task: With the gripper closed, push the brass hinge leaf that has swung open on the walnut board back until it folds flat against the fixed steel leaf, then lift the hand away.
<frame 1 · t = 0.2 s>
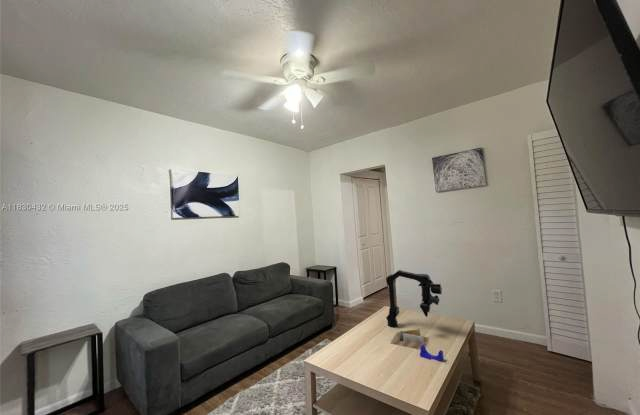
hand: (427, 314, 183), 14 cm above the table, fingers open, 9 cm apart
steel leaf: (401, 340, 174), resting on hinge board
cable clip: (431, 360, 151), on the table
hinge board: (409, 341, 173), on the table
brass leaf: (410, 333, 176), point 4 cm above the table, hinge at 40.0°
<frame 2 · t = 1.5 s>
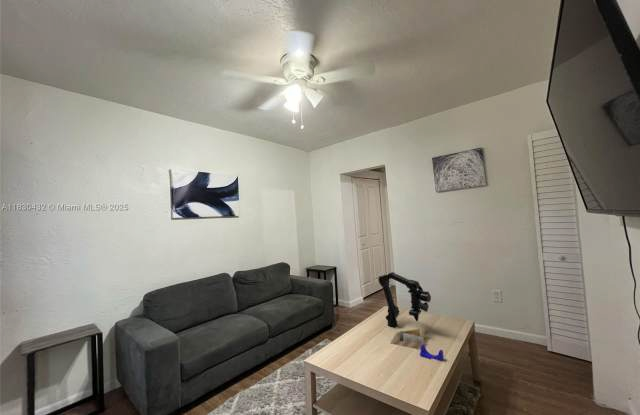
hand: (417, 321, 183), 9 cm above the table, fingers closed
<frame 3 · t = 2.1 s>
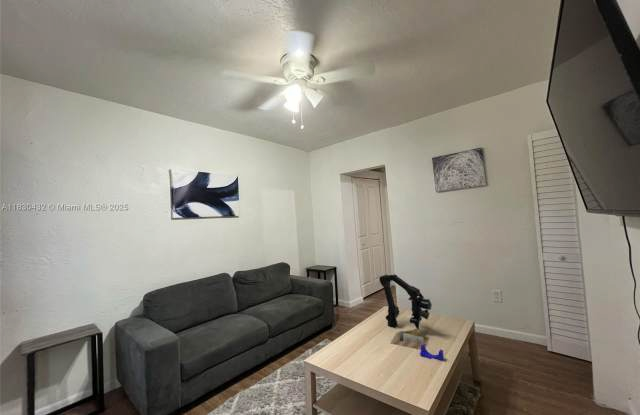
hand: (417, 328, 182), 4 cm above the table, fingers closed
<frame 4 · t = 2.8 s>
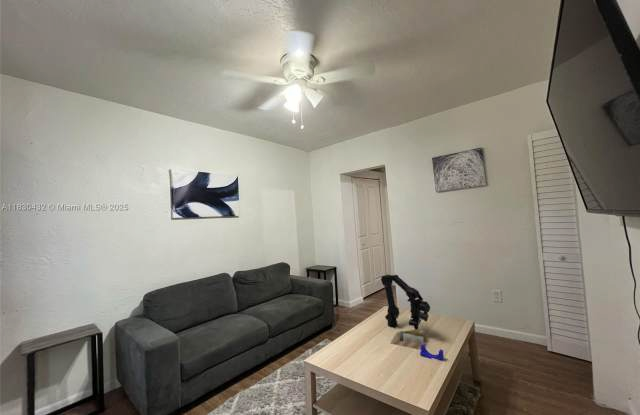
hand: (416, 330, 179), 4 cm above the table, fingers closed
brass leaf: (410, 333, 176), point 4 cm above the table, hinge at 39.4°, touching gripper
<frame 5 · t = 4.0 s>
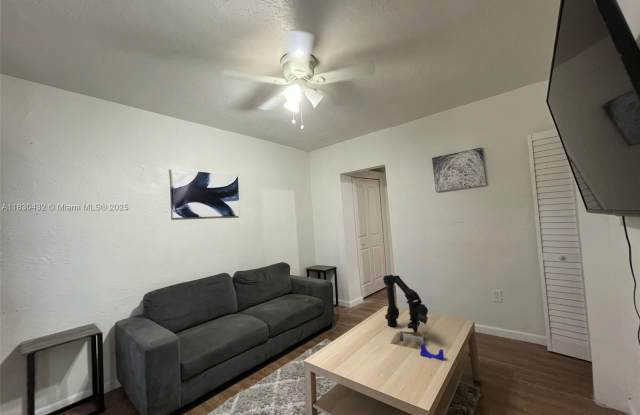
hand: (416, 333, 175), 4 cm above the table, fingers closed
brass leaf: (412, 335, 174), point 4 cm above the table, hinge at 20.7°, touching gripper
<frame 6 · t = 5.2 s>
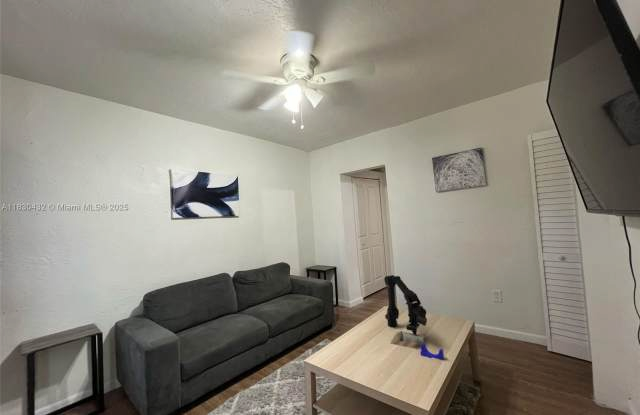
hand: (415, 335, 172), 4 cm above the table, fingers closed
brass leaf: (413, 337, 171), point 4 cm above the table, hinge at 1.3°, touching gripper
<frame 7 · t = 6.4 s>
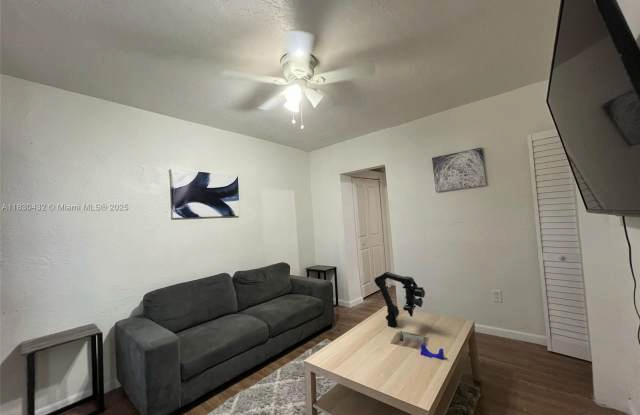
hand: (411, 316, 185), 12 cm above the table, fingers closed
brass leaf: (413, 337, 171), point 4 cm above the table, hinge at 1.3°
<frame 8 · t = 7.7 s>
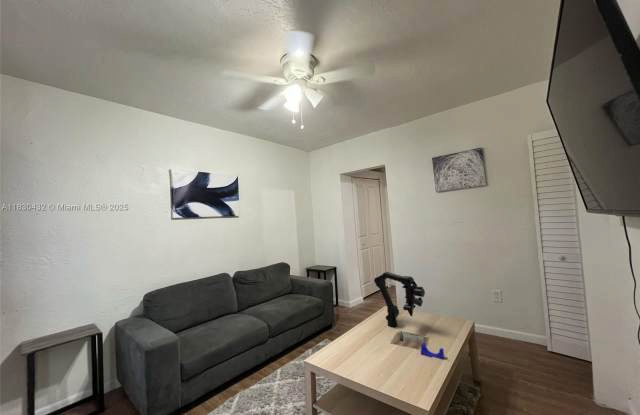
hand: (411, 316, 186), 12 cm above the table, fingers closed
at the end: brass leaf at +1° (first picture: +40°); cable clip moved 2.9 cm from its start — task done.
